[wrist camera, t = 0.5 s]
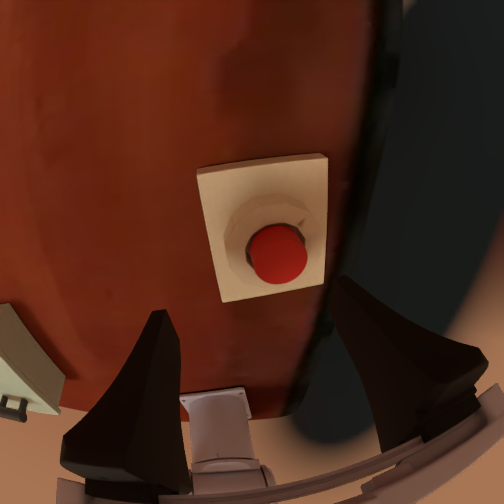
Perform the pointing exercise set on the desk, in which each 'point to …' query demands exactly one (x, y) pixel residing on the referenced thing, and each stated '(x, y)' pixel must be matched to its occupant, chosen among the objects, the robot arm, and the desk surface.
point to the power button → (278, 255)
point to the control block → (264, 217)
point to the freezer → (29, 355)
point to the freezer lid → (20, 394)
